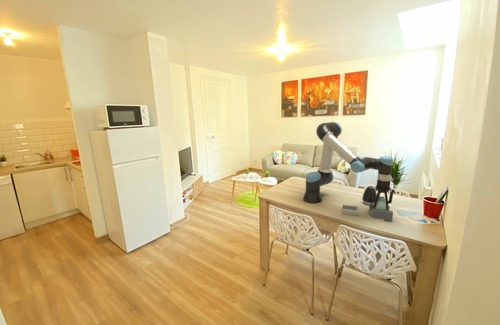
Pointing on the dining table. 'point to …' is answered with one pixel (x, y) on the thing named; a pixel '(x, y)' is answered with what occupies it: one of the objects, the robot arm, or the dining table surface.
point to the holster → (350, 210)
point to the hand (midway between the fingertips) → (380, 211)
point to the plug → (381, 203)
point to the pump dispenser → (368, 195)
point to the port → (380, 213)
